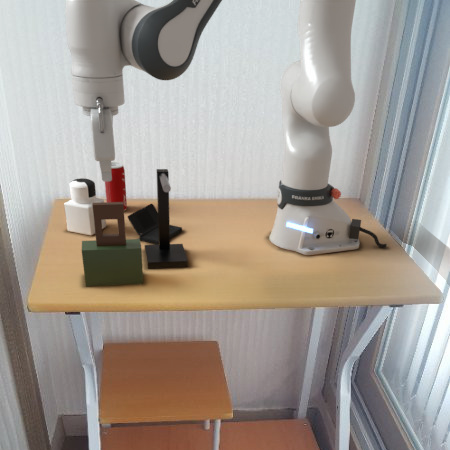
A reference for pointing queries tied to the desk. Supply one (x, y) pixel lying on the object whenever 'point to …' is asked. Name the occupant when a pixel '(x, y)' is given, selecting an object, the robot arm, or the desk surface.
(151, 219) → the handheld gaming console
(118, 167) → the soda can
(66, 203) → the medicine bottle
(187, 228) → the desk surface
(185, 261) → the peg stand
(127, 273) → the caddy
